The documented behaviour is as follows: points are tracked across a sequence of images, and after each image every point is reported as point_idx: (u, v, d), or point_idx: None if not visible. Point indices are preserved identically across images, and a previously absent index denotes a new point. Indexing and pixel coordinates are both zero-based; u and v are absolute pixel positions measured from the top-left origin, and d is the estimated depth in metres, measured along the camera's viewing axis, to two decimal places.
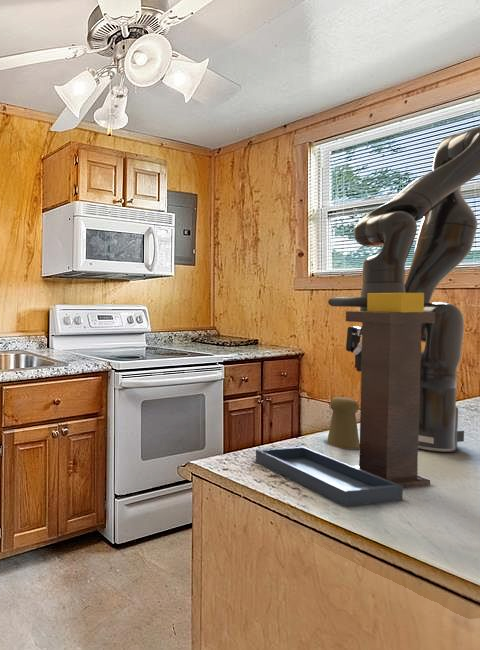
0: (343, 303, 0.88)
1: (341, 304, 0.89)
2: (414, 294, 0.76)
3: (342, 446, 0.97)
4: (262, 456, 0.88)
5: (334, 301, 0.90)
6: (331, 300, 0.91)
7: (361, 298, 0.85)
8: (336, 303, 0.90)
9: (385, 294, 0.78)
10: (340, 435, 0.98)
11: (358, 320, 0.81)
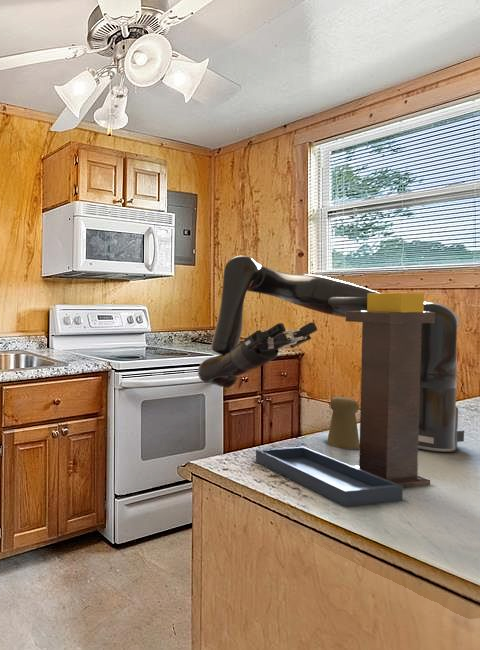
0: (343, 303, 0.88)
1: (341, 304, 0.89)
2: (414, 294, 0.76)
3: (342, 446, 0.97)
4: (262, 456, 0.88)
5: (334, 301, 0.90)
6: (331, 300, 0.91)
7: (361, 298, 0.85)
8: (336, 303, 0.90)
9: (385, 294, 0.78)
10: (340, 435, 0.98)
11: (358, 320, 0.81)
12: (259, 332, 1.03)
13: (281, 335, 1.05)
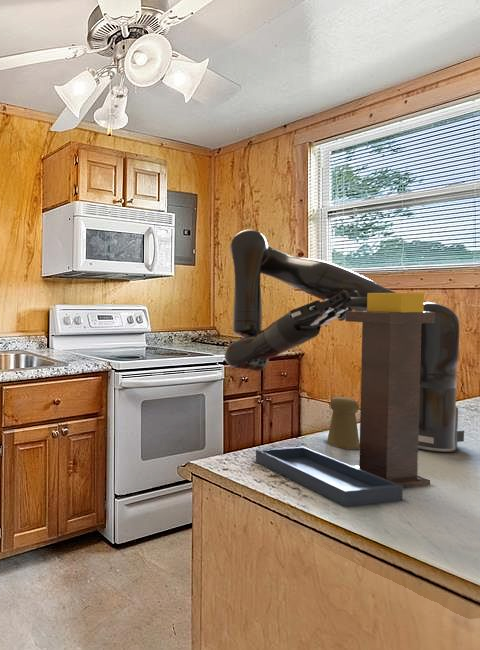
0: None
1: None
2: (414, 294, 0.76)
3: (342, 446, 0.97)
4: (262, 456, 0.88)
5: None
6: None
7: (361, 298, 0.85)
8: None
9: (385, 294, 0.78)
10: (340, 435, 0.98)
11: (358, 320, 0.81)
12: (319, 302, 0.91)
13: None
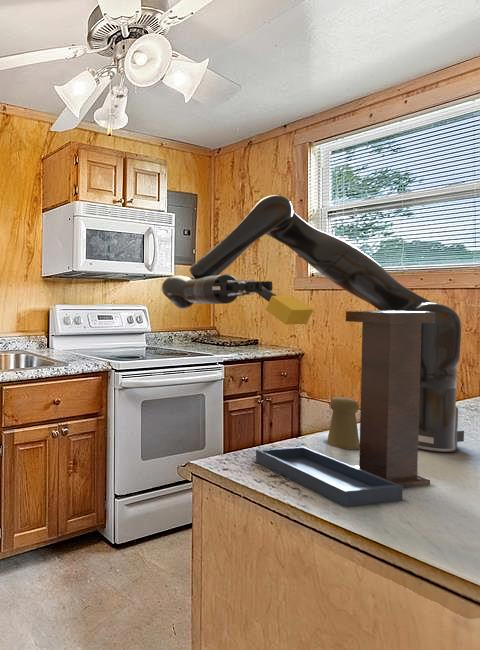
0: (255, 291, 0.97)
1: None
2: (303, 310, 0.86)
3: (342, 446, 0.97)
4: (262, 456, 0.88)
5: None
6: None
7: (268, 294, 0.93)
8: None
9: (282, 304, 0.88)
10: (340, 435, 0.98)
11: (358, 320, 0.81)
12: (237, 284, 0.99)
13: None
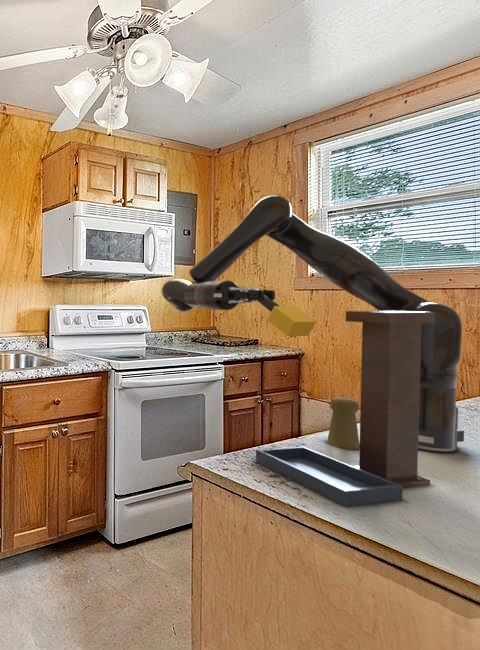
0: None
1: None
2: (306, 323, 0.84)
3: (342, 446, 0.97)
4: (262, 456, 0.88)
5: None
6: None
7: (271, 303, 0.92)
8: None
9: (284, 315, 0.86)
10: (340, 435, 0.98)
11: (358, 320, 0.81)
12: (239, 292, 0.97)
13: None
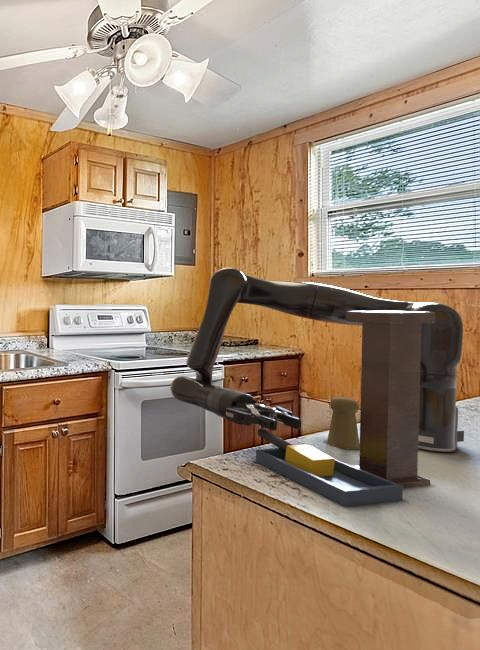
0: (268, 440, 0.92)
1: (267, 440, 0.93)
2: (325, 460, 0.81)
3: (342, 446, 0.97)
4: (262, 456, 0.88)
5: (262, 434, 0.94)
6: (259, 432, 0.95)
7: (283, 443, 0.89)
8: (263, 437, 0.94)
9: (300, 454, 0.83)
10: (340, 435, 0.98)
11: (358, 320, 0.81)
12: (249, 417, 0.92)
13: (260, 413, 0.96)
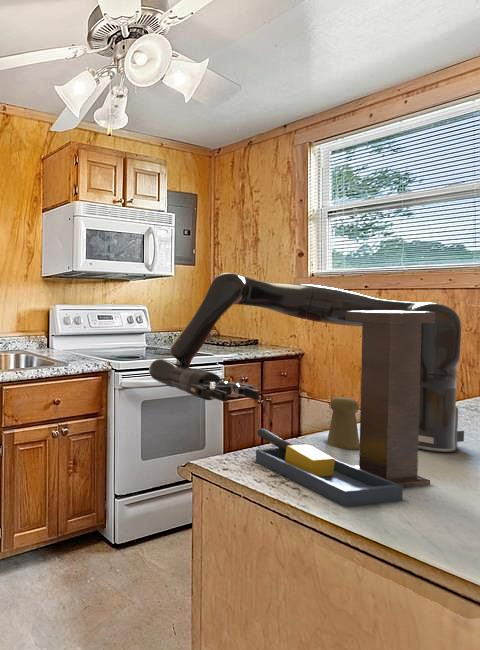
0: (268, 440, 0.92)
1: (267, 440, 0.93)
2: (325, 460, 0.81)
3: (342, 446, 0.97)
4: (262, 456, 0.88)
5: (262, 434, 0.94)
6: (259, 432, 0.95)
7: (283, 443, 0.89)
8: (263, 437, 0.94)
9: (300, 454, 0.83)
10: (340, 435, 0.98)
11: (358, 320, 0.81)
12: (204, 390, 1.05)
13: (226, 389, 1.08)
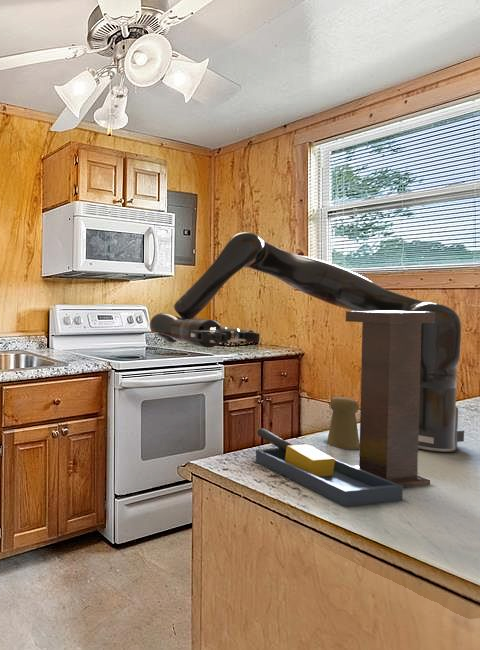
0: (268, 440, 0.92)
1: (267, 440, 0.93)
2: (325, 460, 0.81)
3: (342, 446, 0.97)
4: (262, 456, 0.88)
5: (262, 434, 0.94)
6: (259, 432, 0.95)
7: (283, 443, 0.89)
8: (263, 437, 0.94)
9: (300, 454, 0.83)
10: (340, 435, 0.98)
11: (358, 320, 0.81)
12: (204, 334, 1.05)
13: (226, 333, 1.07)
